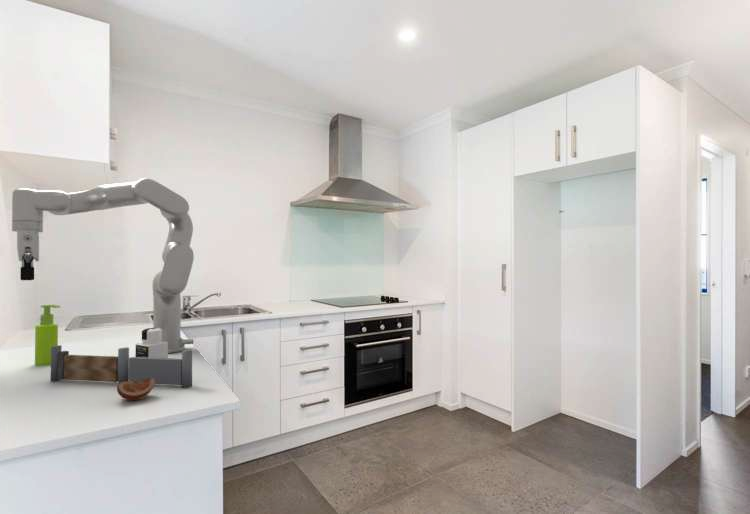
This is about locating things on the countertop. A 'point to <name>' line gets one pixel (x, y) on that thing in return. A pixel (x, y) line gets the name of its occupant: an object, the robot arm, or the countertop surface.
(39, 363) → the soap dispenser
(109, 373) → the gate
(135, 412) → the countertop surface
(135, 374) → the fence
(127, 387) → the fruit slice
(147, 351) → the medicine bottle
